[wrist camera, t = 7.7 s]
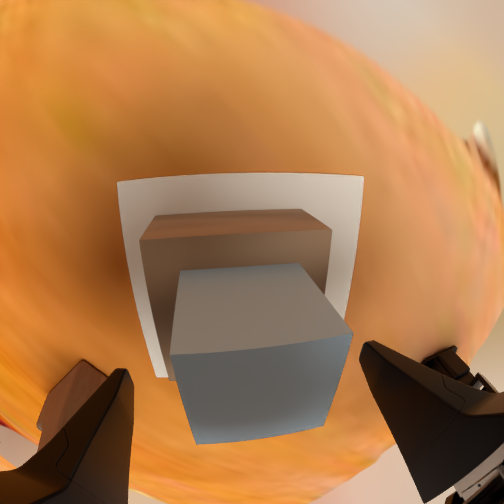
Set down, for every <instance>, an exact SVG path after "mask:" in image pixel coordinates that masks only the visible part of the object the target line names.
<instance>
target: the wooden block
mask: <svg viewBox="0 0 504 504" xmlns="http://www.w3.org/2000/svg"><path fill="white" fill-rule="evenodd" d="M106 379H107V377H106V376H105V375H103V374H102V373H100V372H99V371H98V370H96V369H95V368H93V367H92V366H91V365H89V364H88V363H87V362H85V361H81V362H79V363H78V364H77V365H76V366H75V367H74V368H73V369H72V370H71V371H70V372H69V373H68V374H67V375H66V377H65V378H64V379H63V380H62V381H61V382H60V383H59V384H58V385H57V386H56V387H55V388H54V389H53V390H52V391H51V392H50V393H49V394H48V395H47V398H46V400H45V403H44V405H43V408H42V410H41V413H40V416H39V418H38V421H37V428H38V429H39V430H41V431H42V434H41V438H40V442H39V446H38V451H39V450H40V449H41V448H43V447H44V446H45V445H46V444H47V443H48V442H49V441H50V440H51V439H52V438H53V437H54V436H55V435H56V434H57V433H58V431H59V430H60V429H61V428H62V427H64V425H65V424H66V423H67V421H68V420H69V419H70V418H71V417H72V416H73V415H74V414H75V413H76V411H77V410H78V409H79V408H80V407H81V406H82V405H83V404H84V403H85V402H86V400H87V399H88V398H89V397H90V396H91V395H92V394H93V393H94V392H95V391H96V390H97V388H98V387H99V386H100V385H101V384H102V383H103V382H104V381H105V380H106ZM38 451H37V452H38Z"/></svg>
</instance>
